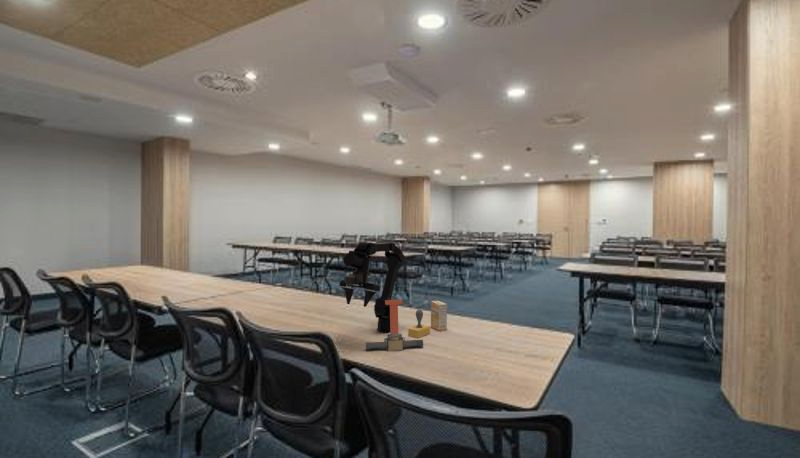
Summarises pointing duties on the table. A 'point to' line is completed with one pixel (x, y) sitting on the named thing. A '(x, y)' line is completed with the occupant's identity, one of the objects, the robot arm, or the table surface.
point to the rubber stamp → (419, 327)
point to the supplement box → (439, 315)
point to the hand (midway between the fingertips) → (356, 305)
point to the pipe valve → (394, 344)
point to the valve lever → (393, 317)
